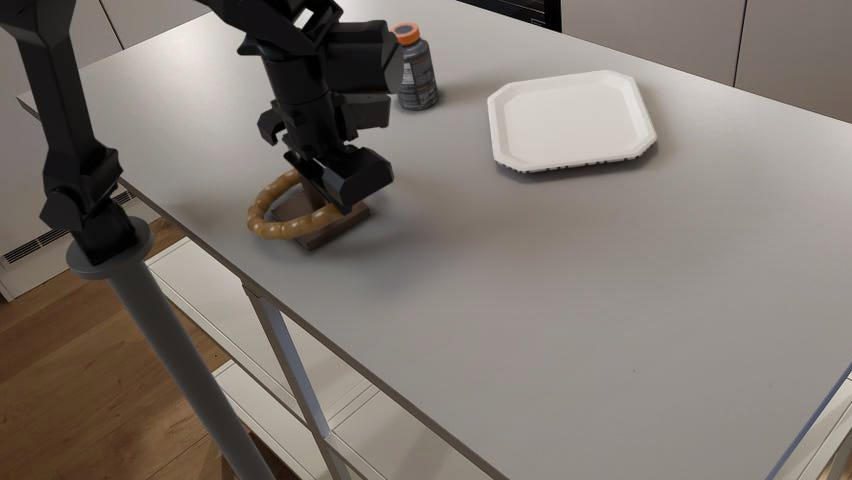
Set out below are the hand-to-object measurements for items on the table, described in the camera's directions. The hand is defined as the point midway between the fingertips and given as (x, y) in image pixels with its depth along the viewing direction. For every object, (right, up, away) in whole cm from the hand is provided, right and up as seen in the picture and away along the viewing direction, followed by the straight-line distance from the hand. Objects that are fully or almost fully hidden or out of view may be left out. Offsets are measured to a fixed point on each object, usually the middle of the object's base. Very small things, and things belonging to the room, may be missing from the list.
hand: (341, 208), depth 86 cm
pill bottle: (+7, +18, +25) cm, 31 cm away
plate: (+28, +12, +15) cm, 34 cm away
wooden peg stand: (-4, 0, +8) cm, 9 cm away
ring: (-5, +2, +6) cm, 8 cm away
